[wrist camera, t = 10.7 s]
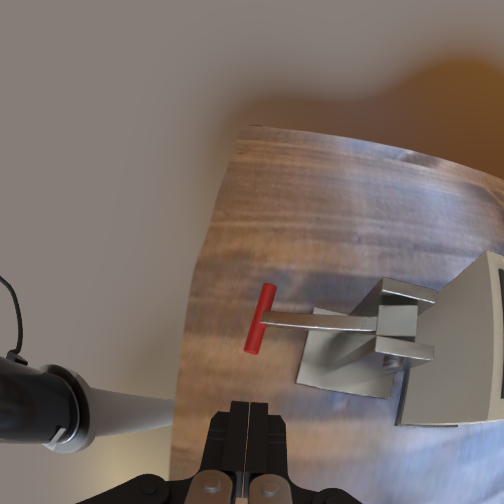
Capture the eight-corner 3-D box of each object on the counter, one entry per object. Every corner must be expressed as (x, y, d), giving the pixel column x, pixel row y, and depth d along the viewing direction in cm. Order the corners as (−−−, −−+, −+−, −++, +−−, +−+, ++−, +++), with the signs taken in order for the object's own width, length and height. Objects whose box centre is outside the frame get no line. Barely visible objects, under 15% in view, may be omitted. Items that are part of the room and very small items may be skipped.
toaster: (394, 425, 23) (485, 425, 10) (410, 308, 29) (484, 244, 17) (453, 427, 21) (545, 416, 9) (464, 319, 28) (540, 267, 16)
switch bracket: (294, 383, 26) (324, 367, 15) (312, 309, 30) (345, 246, 19) (385, 399, 24) (462, 386, 13) (396, 328, 28) (464, 279, 17)
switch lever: (251, 355, 23) (236, 346, 21) (269, 292, 26) (257, 279, 24) (411, 372, 16) (412, 365, 14) (418, 294, 19) (418, 279, 17)
